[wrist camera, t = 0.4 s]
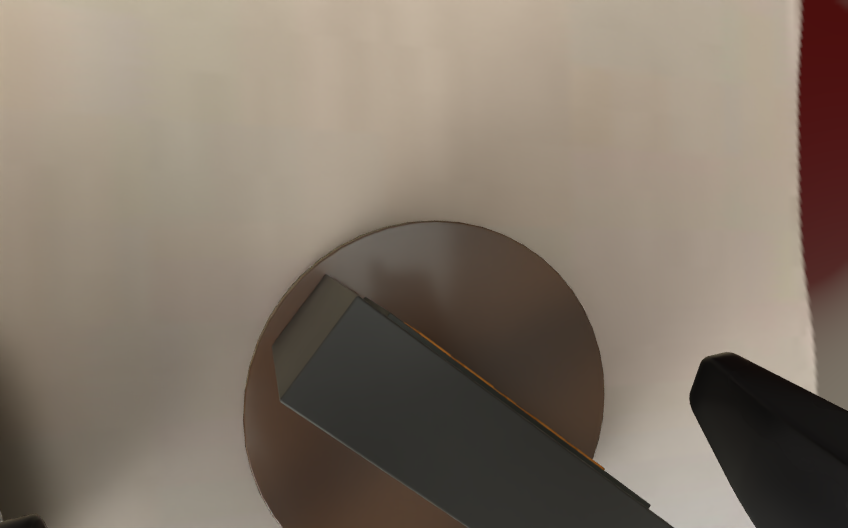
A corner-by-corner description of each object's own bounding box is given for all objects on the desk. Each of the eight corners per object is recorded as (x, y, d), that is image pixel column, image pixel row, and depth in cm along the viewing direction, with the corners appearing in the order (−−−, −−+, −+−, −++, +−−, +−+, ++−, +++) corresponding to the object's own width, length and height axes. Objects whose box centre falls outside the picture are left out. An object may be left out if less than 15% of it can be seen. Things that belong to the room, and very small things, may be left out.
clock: (537, 530, 25) (647, 648, 18) (270, 346, 22) (278, 401, 15) (586, 458, 25) (712, 546, 18) (329, 268, 23) (363, 287, 16)
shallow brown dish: (656, 417, 27) (666, 422, 26) (399, 653, 25) (403, 665, 24) (463, 146, 24) (469, 144, 24) (159, 384, 22) (156, 389, 22)
